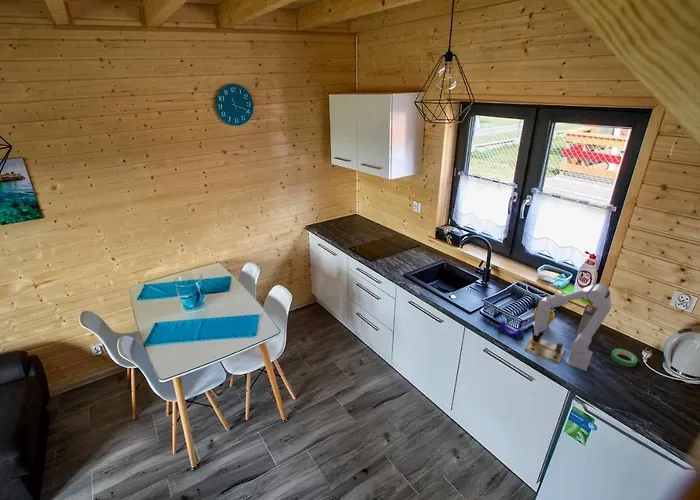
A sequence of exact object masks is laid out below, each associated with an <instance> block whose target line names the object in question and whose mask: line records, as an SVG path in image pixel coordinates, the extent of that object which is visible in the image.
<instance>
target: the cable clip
mask: <svg viewBox="0 0 700 500" xmlns="http://www.w3.org/2000/svg"><path fill="white" fill-rule="evenodd" d="M501 329H502V332H501V333H504V332H505V333H504V334H506V333H507V334H506V335H508V334H509V335H508V336H510V335H511V337H513V336H514V337H513V338H515V337H517V336H518V337H519V339H518V340H520V339H522V337H523V336H524V332H525V331H524V327H522V326H521V327H519V329H517V330H518V331H512V329H509V327H508V326H507V325H506V320H505V319H501V320H500V321H499V326H498V331H499V330H501Z"/></svg>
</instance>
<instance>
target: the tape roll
mask: <svg viewBox="0 0 700 500" xmlns="http://www.w3.org/2000/svg"><path fill="white" fill-rule="evenodd" d="M619 355H622V356H625V357H627V358H629V359H630V360H626V359H623V358H621V357H620V356H619ZM610 357H611V359H612V360H613V362H615V363H617V364H618V365H621V366H623V367H630V368H632V367H635V366H636V365H637V363H638V358H637V356H636V355H635V353H633V352H630V351H628V350H626V349H623V348H614V349H613V350H612V351H611V354H610Z"/></svg>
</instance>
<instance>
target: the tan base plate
mask: <svg viewBox="0 0 700 500" xmlns="http://www.w3.org/2000/svg"><path fill="white" fill-rule="evenodd" d="M532 337H533V335H532V336H530V337H529V339H528V342H526V345H525V347H524V349H525V350H524V349H523V350H524V351H526V350H527V351H526V352H528V351H530V352H529V353H531V352H533V353H532V354H534V353H535V354H534V355H536V354H537V356H539V357H541V356H542V358H544V359H546V358H547V360H549V361H551V360H552V361H551V362H554V363H557V364H560V362H561V360H562V357H563V355H564V352H565V350H566V348H565V347H563V345H564V344H563V343H562V342H557V343H556V344H554V343H551V342H548V341H546V340H543V339H541V342H540V344H539V345H538V344H535V346H534V349H532V347H533V345H534V343H532V342H531V341H532Z"/></svg>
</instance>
